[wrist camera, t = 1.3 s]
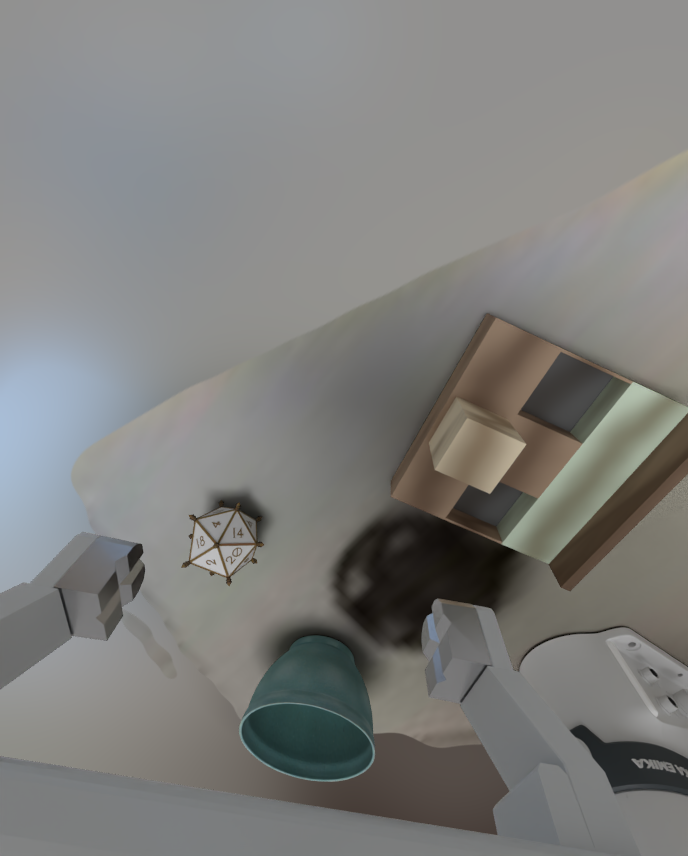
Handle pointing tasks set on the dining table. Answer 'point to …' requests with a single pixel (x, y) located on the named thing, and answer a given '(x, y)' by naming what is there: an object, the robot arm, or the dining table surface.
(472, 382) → the box
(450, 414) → the maple block
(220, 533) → the game die
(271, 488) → the dining table surface
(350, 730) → the flower pot
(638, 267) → the dining table surface
